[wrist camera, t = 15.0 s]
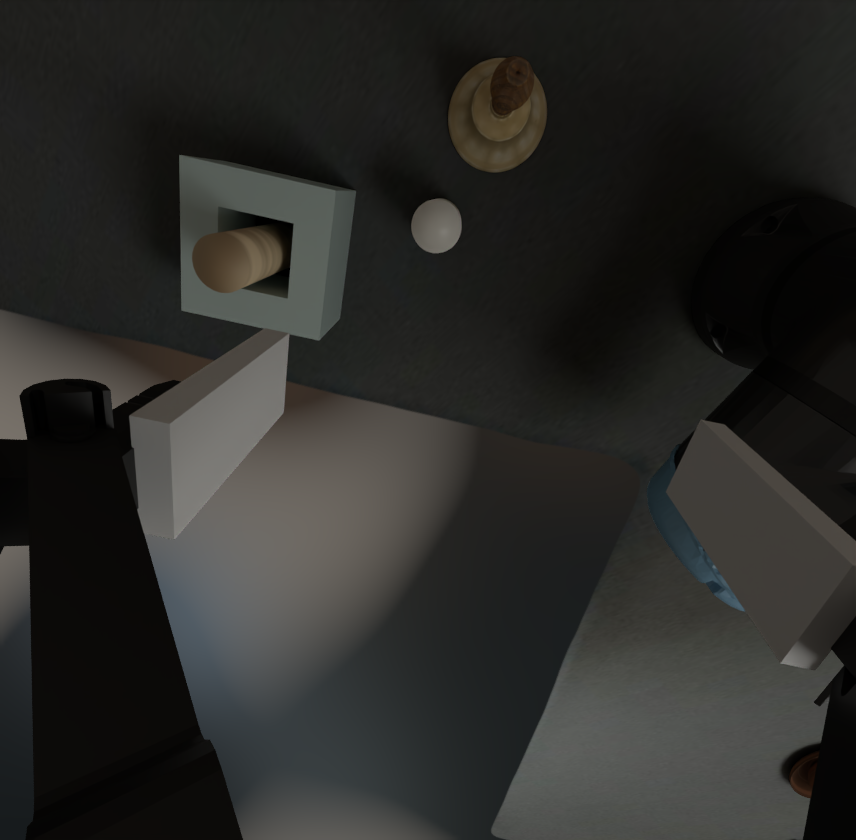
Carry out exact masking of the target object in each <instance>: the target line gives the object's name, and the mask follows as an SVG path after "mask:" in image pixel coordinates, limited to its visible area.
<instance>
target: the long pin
mask: <svg viewBox="0 0 856 840" xmlns="http://www.w3.org/2000/svg"><path fill="white" fill-rule="evenodd" d="M293 226H294V225H293V224H291V223H288V222H278V223H272V224H266V225H260V226H254V227H248V228H242V229H236V230H230V231H224V232H218V233H212V234H208V235H205V236H203V237H202V238H200V239H199V240H198V241H197V243H196V244H195V246H194V249H193V252H192V263H193V267H194V270H195V272H196V274H197V276H198V277H199V279H200V280H201V281H202V282H203V283H204V284H205V285H206V286H207V287H209V288H210V289H212V290H214V291H217V292H220V293H231V292H234V291H237V290H239V289H241V288H244V287H246V286H248V285H250V284H253V283H255V282H257V281H259V280H262V279H264V278H266V277H269V276H271V275H273V274H275V273H278V272H280V271H282V270H284V269H287V268H289V267H290V264H291V251H292V239H293Z"/></svg>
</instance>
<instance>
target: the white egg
mask: <svg viewBox="0 0 856 840" xmlns="http://www.w3.org/2000/svg"><path fill="white" fill-rule="evenodd" d="M461 228H462V223H461V215H460V212H459V210H458V208H457V207H456V205H455V204H454V203H452V202H451V201H449V200H447V199H443V198H437V199H432V200H429V201H426V202H424V203H423V204H422V205H420V206H419V207H418V208H417V210H416V211H415V213H414V215H413V218H412V223H411V229H412V234H413V237H414V239H415V241H416V243H417V244H418V245H419V246H420V247H421V248H422V249H424V250H425V251H428V252H431V253H442V252H445V251H447V250H449V249H451V248H452V247H453V246H454V245H455V244H456V242H457V241H458V239H459V237H460V234H461Z"/></svg>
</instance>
